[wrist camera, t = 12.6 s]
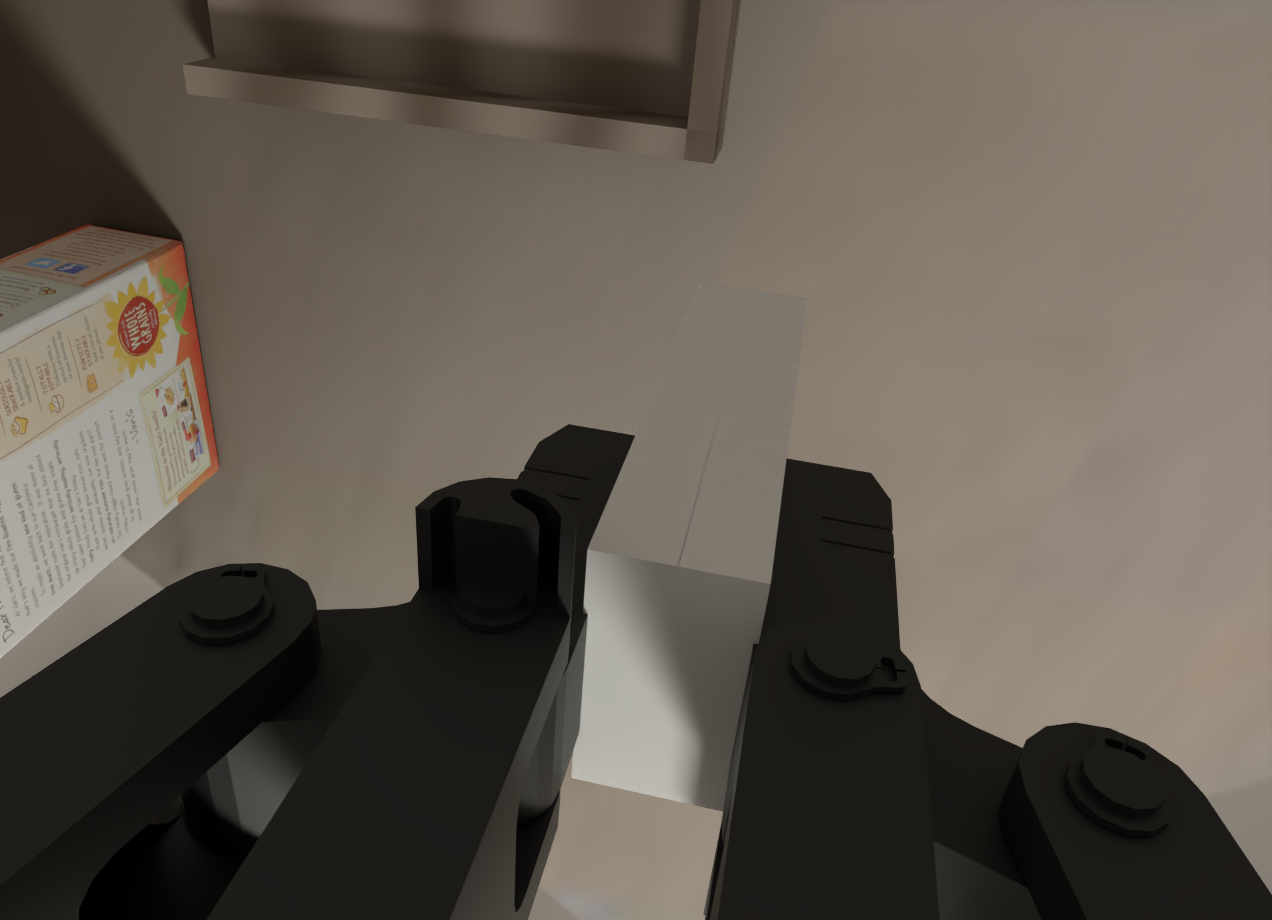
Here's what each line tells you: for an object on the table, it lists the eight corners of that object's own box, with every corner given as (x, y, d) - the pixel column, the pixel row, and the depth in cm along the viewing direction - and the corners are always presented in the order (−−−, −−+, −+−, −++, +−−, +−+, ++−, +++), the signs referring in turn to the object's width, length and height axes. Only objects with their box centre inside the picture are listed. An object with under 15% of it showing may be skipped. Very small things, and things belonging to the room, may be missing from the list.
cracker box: (82, 220, 49) (-359, 394, 31) (189, 238, 48) (-200, 427, 30) (130, 451, 56) (-206, 700, 38) (223, 470, 55) (-75, 733, 38)
